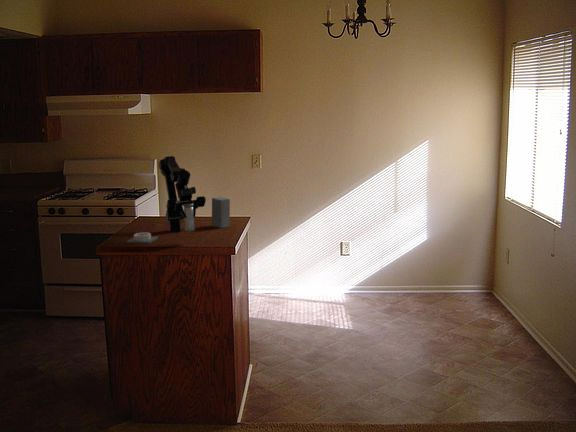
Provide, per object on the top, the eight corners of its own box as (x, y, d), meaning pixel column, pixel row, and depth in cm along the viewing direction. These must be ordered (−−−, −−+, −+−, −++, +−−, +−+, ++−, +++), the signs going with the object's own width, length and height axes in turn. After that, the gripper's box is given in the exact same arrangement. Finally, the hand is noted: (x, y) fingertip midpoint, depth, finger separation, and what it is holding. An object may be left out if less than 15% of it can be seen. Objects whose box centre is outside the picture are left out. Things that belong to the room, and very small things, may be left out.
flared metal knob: (187, 228, 312) (185, 202, 310) (196, 228, 311) (195, 202, 308) (183, 231, 308) (181, 204, 305) (193, 231, 306) (191, 204, 304)
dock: (136, 237, 327) (135, 231, 326) (158, 238, 324) (157, 232, 324) (126, 242, 316) (126, 236, 315) (149, 243, 314) (148, 237, 313)
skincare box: (211, 226, 347) (209, 198, 344) (221, 224, 352) (220, 196, 349) (221, 228, 341) (219, 199, 338) (231, 226, 346) (230, 197, 343)
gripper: (166, 183, 304) (172, 209, 297) (203, 179, 312) (211, 205, 304) (163, 196, 313) (170, 223, 306) (200, 193, 320) (207, 218, 313)
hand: (190, 217), depth 307 cm, fingers closed on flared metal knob, 4 cm apart
